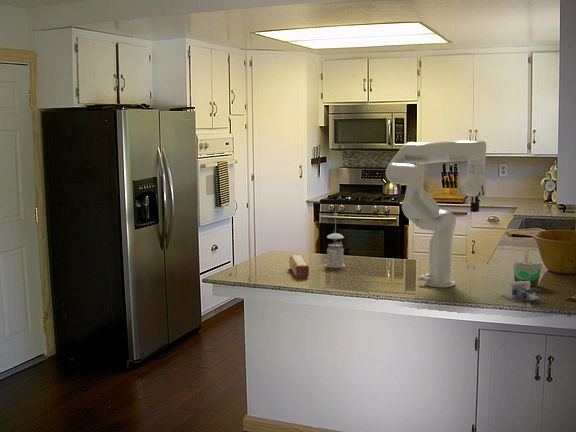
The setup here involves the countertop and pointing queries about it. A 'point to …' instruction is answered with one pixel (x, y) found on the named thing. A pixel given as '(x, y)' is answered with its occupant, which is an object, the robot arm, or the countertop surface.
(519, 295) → the gauge body
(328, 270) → the countertop surface
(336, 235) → the french press
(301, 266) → the snack package
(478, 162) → the robot arm
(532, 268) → the food container
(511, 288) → the grey boxy piece
